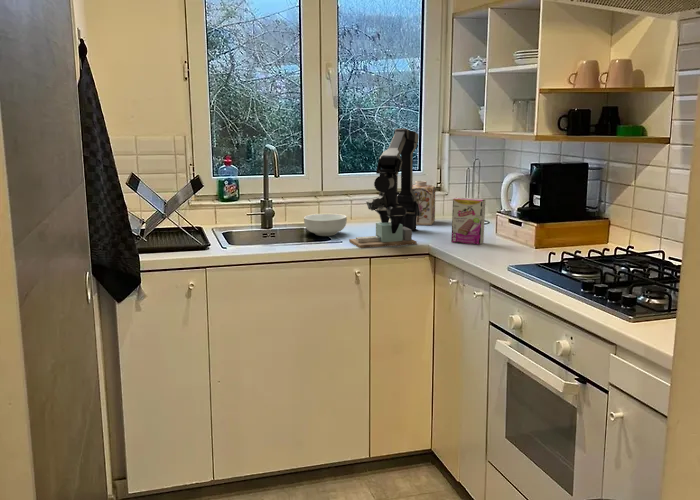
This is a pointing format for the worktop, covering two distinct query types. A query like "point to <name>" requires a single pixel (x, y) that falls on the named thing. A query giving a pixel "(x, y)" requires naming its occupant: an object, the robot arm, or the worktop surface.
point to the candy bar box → (468, 220)
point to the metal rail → (369, 239)
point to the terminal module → (388, 232)
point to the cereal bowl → (325, 223)
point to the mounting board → (381, 243)
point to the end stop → (407, 234)
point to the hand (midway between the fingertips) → (389, 231)
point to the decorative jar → (425, 202)
